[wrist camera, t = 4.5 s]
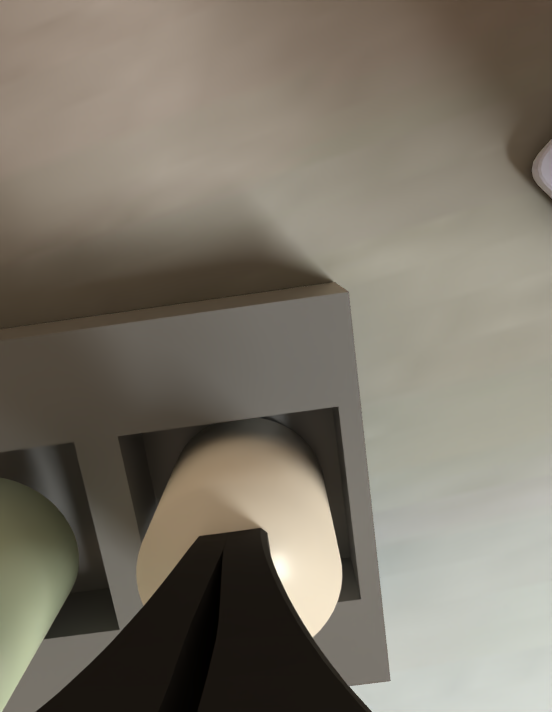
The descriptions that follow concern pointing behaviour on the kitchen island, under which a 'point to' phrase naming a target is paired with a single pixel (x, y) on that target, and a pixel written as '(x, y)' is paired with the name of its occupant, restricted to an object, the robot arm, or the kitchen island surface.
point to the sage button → (30, 576)
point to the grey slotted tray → (168, 439)
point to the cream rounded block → (250, 511)
